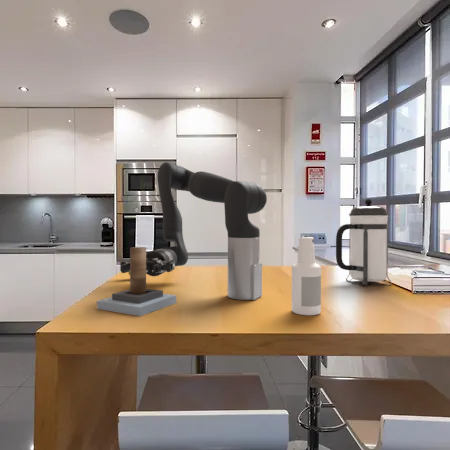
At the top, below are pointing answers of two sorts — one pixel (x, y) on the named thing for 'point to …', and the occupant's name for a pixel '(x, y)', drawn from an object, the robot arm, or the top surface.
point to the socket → (136, 302)
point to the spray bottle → (306, 280)
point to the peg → (138, 270)
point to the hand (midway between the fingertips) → (138, 269)
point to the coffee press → (366, 244)
